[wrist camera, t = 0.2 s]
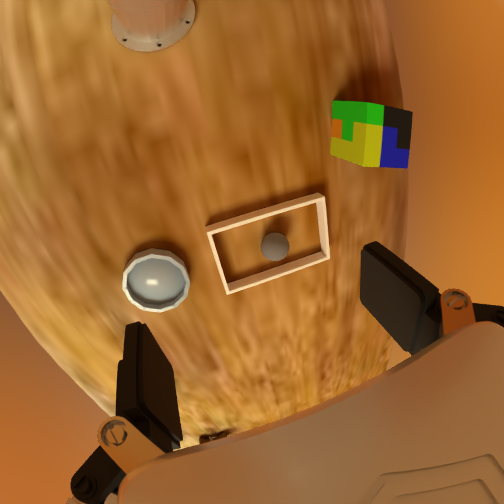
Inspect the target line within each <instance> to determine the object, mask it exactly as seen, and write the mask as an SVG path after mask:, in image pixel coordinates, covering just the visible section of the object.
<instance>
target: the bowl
mask: <svg viewBox="0 0 504 504" xmlns="http://www.w3.org/2000/svg"><path fill="white" fill-rule="evenodd" d="M189 285H190V277H189V274H188V271H187V268H186V266H185V264H184V261H183V260H181V259H180V258H179V257H178V256H177V255H175V254H173V253H172V252H171V251H168V250H163V249H155V248H150V249H148V250H144V251H141V252H139V253H136V254H135V255H134V256H133V257H132V258H131V259H130V260H129V262H128V263H127V264H126V265H125V268H124V274H123V285H122V288H123V290H124V292H125V294H126V296H127V298H128V299H129V301H130V302H131V303H133V304H134V305H136V306H137V307H139V308H141V309H142V310H144V311H152V312H163V311H167V310H170V309H173V308H176V307H177V306H178V305H179V304H180V303H181V302H182V301H183V300H184V299H185V298H186V297H187V294H188V290H189Z"/></svg>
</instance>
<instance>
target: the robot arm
mask: <svg viewBox="0 0 504 504" xmlns="http://www.w3.org/2000/svg"><path fill="white" fill-rule="evenodd" d="M108 2H109V4H110V6H111V8H112V10H113V12H114V13H113V15H112V21H111V24H112V31H113V34H114V36H115V37H116V39H117V40H118V41H119V42H120V43H121V44H122V45H123V46H125V47H126V48H129V49H131V50H134V51H138V52H155V51H159V50H163V49H165V48H168V47H170V46H172V45H174V44H175V43H177V42H178V41H179V40H181V39H182V38H183V37H184V36H185V35H186V34H187V33H188V31H189V30H190V28H191V26H192V24H193V22H194V18H195V5H194V2H193V0H108ZM186 22H189V24H186ZM125 39H127V41H125V42H124V40H125ZM159 44H161V46H160V47H158V45H159ZM438 291H439V289H438V288H437V287H436V286H434V285H433V284H432V283H431V282H429V281H428V280H427V279H426V278H425V277H423V276H422V275H421V274H419V273H418V272H417V271H415V270H414V269H413V268H412V267H411V266H409V265H408V264H407V263H405V262H404V261H403V260H401V259H400V258H399V257H398V256H396V255H395V254H394V253H392V252H391V251H390V250H388V249H387V248H385V247H384V246H383V245H381V244H380V243H379V242H377V241H374V242H372V243H369V244H366V245H364V247H363V250H362V251H361V278H360V300H361V302H362V304H363V305H364V306H365V307H366V309H367V310H368V311H369V312H370V313H371V314H372V315H373V316H374V317H375V318H376V320H377V321H378V322H379V323H380V324H381V325H382V326H383V327H384V328H385V330H386V331H387V332H388V333H389V334H390V335H391V336H392V337H393V339H394V340H395V341H396V342H397V343H398V344H399V345H400V346H401V348H402V349H403V350H404V351H406V352H407V351H408V352H409V353H410V354H411V355H412V356H411V357H410V358H408V359H406V360H404V361H403V362H401V363H399V364H397V365H396V366H394V367H392V368H391V369H389V370H387V371H385V372H383V373H382V374H380V375H378V376H376V377H374V378H372V379H370V380H368V381H367V382H365V383H363V384H361V385H359V386H357V387H355V388H353V389H351V390H349V391H347V392H344V393H342V394H340V395H338V396H336V397H334V398H332V399H329V400H327V401H325V402H323V403H320V404H318V405H316V406H313V407H311V408H309V409H306V410H304V411H301V412H299V413H296V414H294V415H291V416H288V417H286V418H283V419H280V420H278V421H275V422H272V423H269V424H266V425H264V426H261V427H258V428H255V429H251V430H248V431H245V432H242V433H238V434H235V435H232V436H228V437H225V438H221V439H218V440H214V441H211V442H207V443H203V444H199V445H195V446H191V447H187V448H184V449H180V450H176V451H173V450H174V449H179V448H181V447H180V442H179V441H182V440H183V435H182V429H181V423H180V417H179V410H178V403H177V396H176V388H175V380H174V372H173V368H172V366H171V364H170V362H169V361H168V359H167V358H166V356H165V354H164V353H163V351H162V350H161V348H160V347H159V345H158V343H157V342H156V340H155V338H154V337H153V335H152V333H151V332H150V330H149V328H148V327H147V325H146V324H141V322H139V321H138V322H135V323H132V324H128V325H126V328H125V339H124V351H123V360H120V361H119V363H118V371H117V389H116V416H113V417H110V418H108V419H106V420H105V421H104V422H103V423H102V424H101V425H100V427H99V430H98V434H97V438H98V442H99V443H100V446H99V447H98V448H97V449H96V450H95V451H94V452H93V454H92V455H91V456H90V457H89V458H88V459H87V460H86V462H85V463H84V464H83V465H82V466H81V467H80V468H79V470H78V471H77V472H76V473H75V474H74V476H73V477H72V479H71V491H72V494H73V497H72V499H71V498H68V500H67V503H66V504H504V307H503V306H496V305H487V304H478V303H472V301H471V299H470V297H469V296H468V295H467V293H465V292H464V291H462V290H459V289H448V290H445V291H444V292H443V293H442V295H441V294H440V293H439V292H438Z"/></svg>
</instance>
